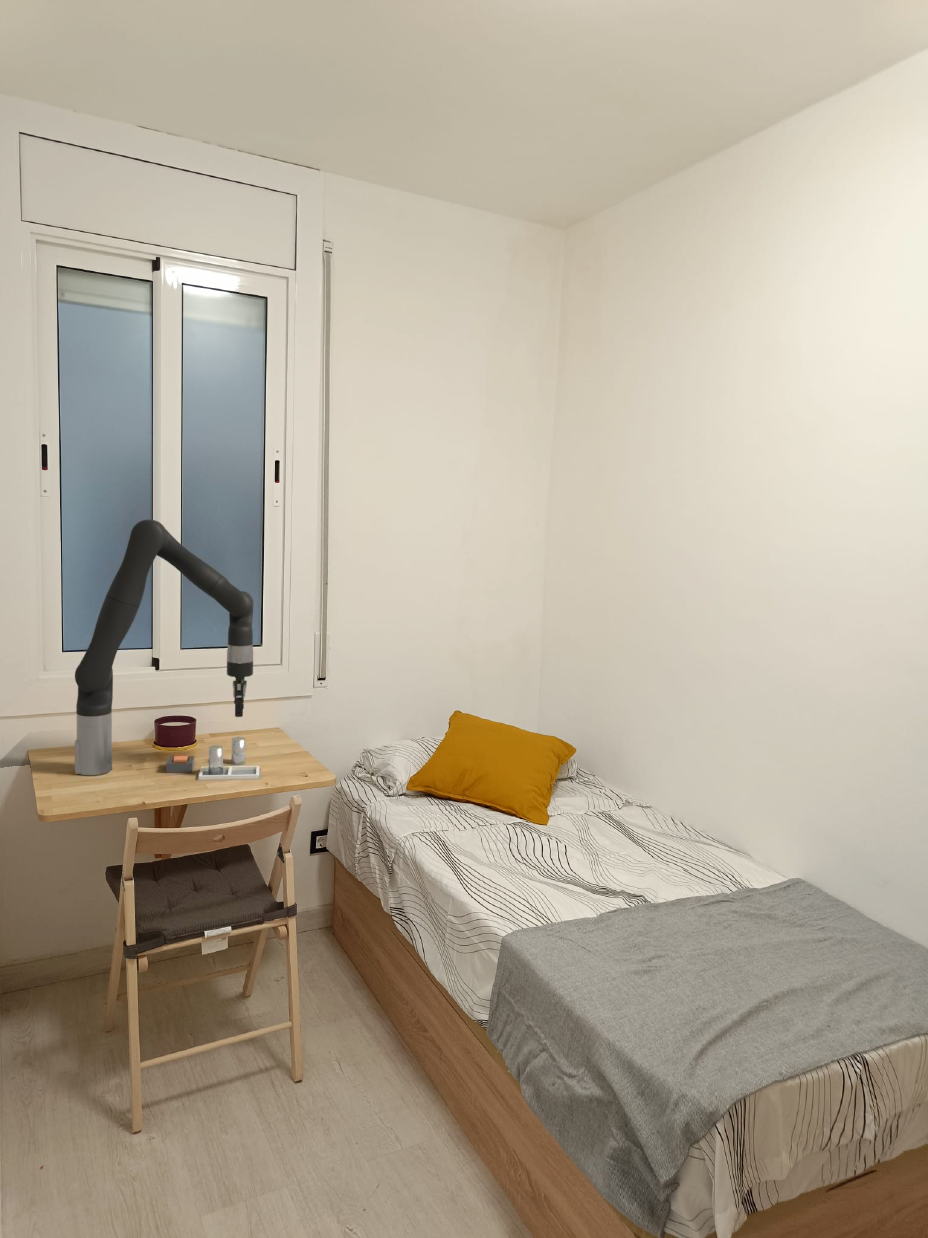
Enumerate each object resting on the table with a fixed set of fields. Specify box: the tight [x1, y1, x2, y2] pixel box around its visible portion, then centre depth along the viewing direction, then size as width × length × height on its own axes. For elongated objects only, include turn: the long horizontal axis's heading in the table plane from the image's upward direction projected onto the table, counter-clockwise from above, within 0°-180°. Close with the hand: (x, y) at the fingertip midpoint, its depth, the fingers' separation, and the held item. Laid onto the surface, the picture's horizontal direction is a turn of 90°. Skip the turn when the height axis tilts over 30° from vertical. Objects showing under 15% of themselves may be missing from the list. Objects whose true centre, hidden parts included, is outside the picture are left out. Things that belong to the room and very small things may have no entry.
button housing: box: [165, 755, 195, 774], centre depth 242 cm, size 7×7×4 cm
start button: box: [173, 755, 189, 762], centre depth 242 cm, size 4×4×2 cm
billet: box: [230, 736, 247, 766], centre depth 250 cm, size 4×4×8 cm
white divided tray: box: [196, 765, 262, 782], centre depth 240 cm, size 17×10×2 cm, turn 103°
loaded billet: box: [207, 745, 224, 775], centre depth 239 cm, size 4×4×8 cm
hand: (239, 713), depth 249 cm, fingers open, 8 cm apart
